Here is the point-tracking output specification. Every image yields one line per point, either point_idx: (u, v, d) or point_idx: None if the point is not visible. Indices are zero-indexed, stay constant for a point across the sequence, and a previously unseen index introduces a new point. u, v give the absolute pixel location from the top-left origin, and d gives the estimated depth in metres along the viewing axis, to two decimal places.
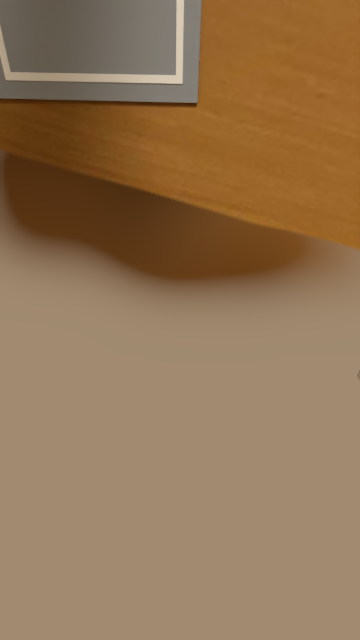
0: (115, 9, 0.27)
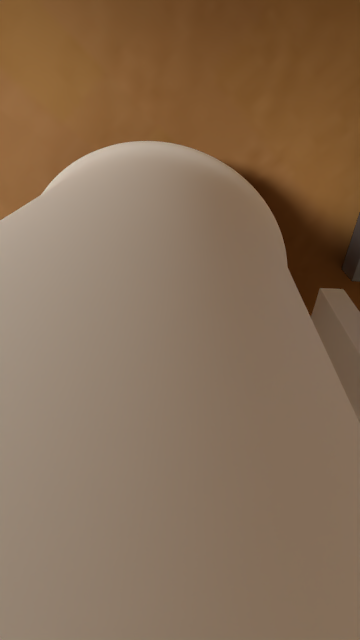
0: None
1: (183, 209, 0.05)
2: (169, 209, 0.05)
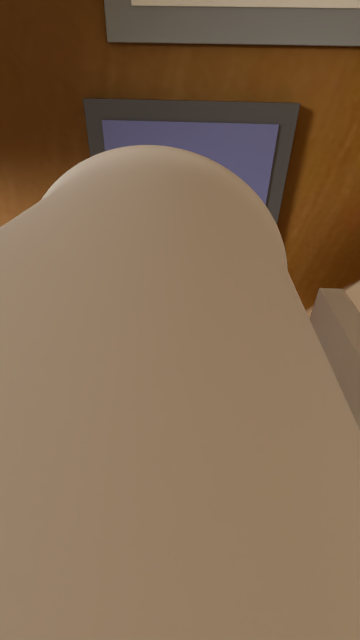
0: None
1: (183, 215, 0.05)
2: (170, 215, 0.05)
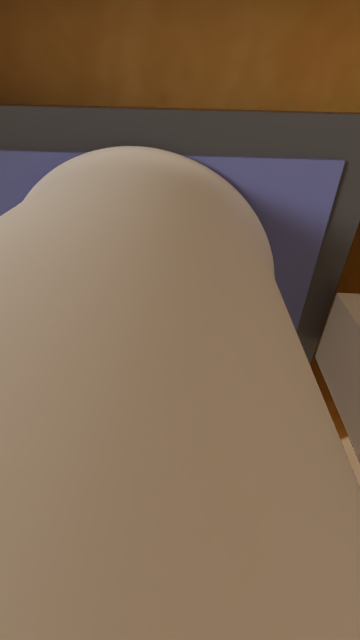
0: None
1: (162, 221, 0.05)
2: (147, 221, 0.05)
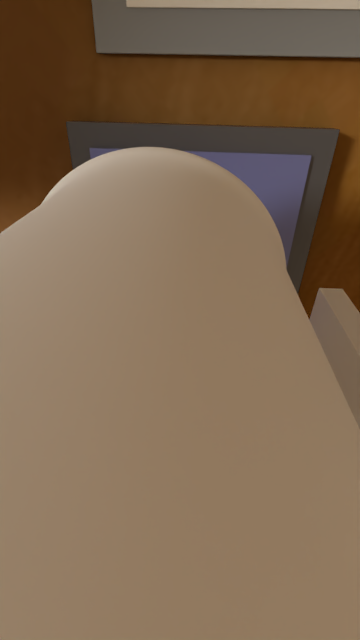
0: None
1: (187, 217, 0.05)
2: (174, 218, 0.05)
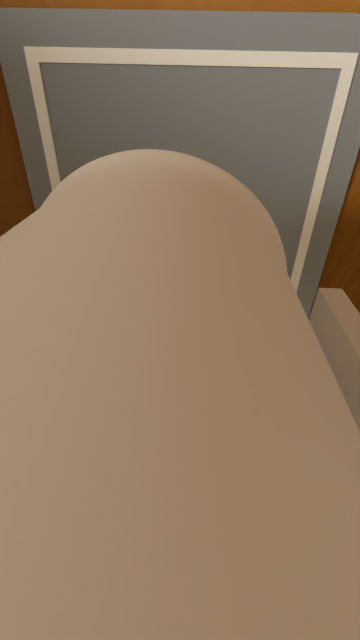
0: (241, 176, 0.19)
1: (188, 221, 0.05)
2: (175, 222, 0.05)
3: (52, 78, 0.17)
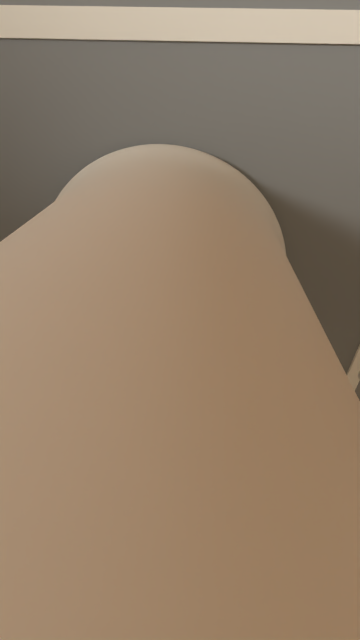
0: None
1: (208, 208, 0.06)
2: (197, 208, 0.06)
3: None
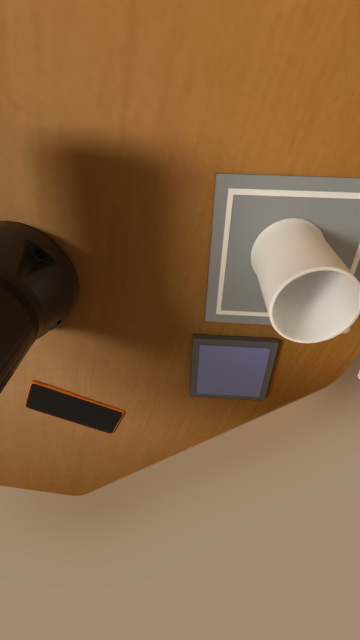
0: None
1: (317, 237, 0.33)
2: (316, 237, 0.32)
3: (238, 200, 0.35)
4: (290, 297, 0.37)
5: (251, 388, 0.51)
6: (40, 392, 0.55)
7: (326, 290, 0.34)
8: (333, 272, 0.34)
